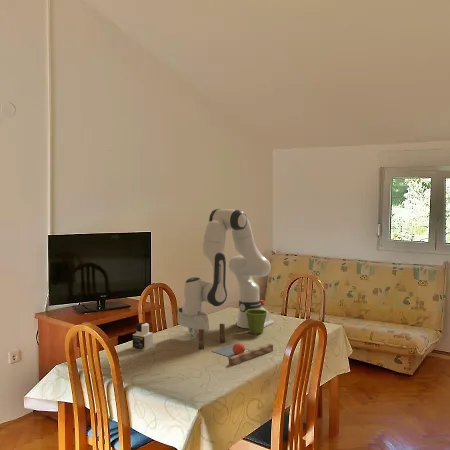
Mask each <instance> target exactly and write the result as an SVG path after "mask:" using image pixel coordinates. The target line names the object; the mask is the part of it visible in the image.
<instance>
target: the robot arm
mask: <svg viewBox="0 0 450 450" xmlns="http://www.w3.org/2000/svg"><path fill="white" fill-rule="evenodd" d="M229 230H230V231H231V236H232V240H233V243H234V249H235V250H236V252H238V253H239V254H240V255H235V256H232V257H231V258H230V260H229V261H228V269H229V271H230V272H231V273H232V274H233V276H234V277H235V279H236V281H237V284H238V288H239V289H238V290H239V292H238V293H239V300H238V307H239V308H238V313H237V320H236V326H237V327H240V328H242V329H243V328H244V329H249V326H248V319H247V315H246V312H245V311H247V310H251V309H260V310H265V311H267V314H266V318H265V323H264V328H266V327H267V326H270V325H272V324H274V323H275V321H274V320H273V319H271V318H270V317H271V316H270V313H269V311H268V310H267V309H265V308H264V307H263V304H265V300H264V299H260V286H259V285H258V283H256V282H255V280H254V279H253V278H254V277H256V278H261V277H267V276H268V275H269V274H270V273H271V269H272V268H271V267H272V266H271V265H272V264H271V263H270V262H271V261H269V259H267V258H266V257H265V256H264V255H263V254H262V253H261V252H260V250H259V249H258V247H257V245H256V241H255V238H254V234H253V229H252V226H251V223H250V220H249V218H248V216H247V215H246V213H245V211H242V210H239V209H232V208H216V209H213V210H212V211H211V212H210V214H209V218H208V223H207V225H206V227H205V232H204V235H203V242H202V252H203V254H204V256H205V258H206V259H207V260H208V261H209V262H210V263H211V265H212V271H213V272H212V283H211V282H208V281H206V280H205V281H204V280H203V279H201V278H200V277H197V276H195V277H189V278H187V279H186V280H185V283H184V288H183V289H184V290H183V297H184V303H183V306H181V307H178V308H177V323H178V326H180V327H181V326H182V327H184V328H187V330H188V333H189V337H190V338H194V339H195V338H197V334H198V333H199V329H203V330H204V333H205V332H208V331H209V330H210V323H209V317H208V315H207V314H206V312H203V307H202V306H203V305H202V304H203V302H206V303H209V304H210V305H212V306H213V307H220V306H222V305H224V303H225V302H226V301H227V299H228V292H227V286H226V271H227V270H226V269H227V263H226V262H227V261H226V256H225V245H226V233H227V231H229Z"/></svg>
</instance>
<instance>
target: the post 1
mask: <svg viewBox="0 0 450 450" xmlns="http://www.w3.org/2000/svg"><path fill="white" fill-rule="evenodd" d="M204 349H205V332H204V330H203V329H199V331H198V350H204Z"/></svg>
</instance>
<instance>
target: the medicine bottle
mask: <svg viewBox="0 0 450 450" xmlns="http://www.w3.org/2000/svg"><path fill="white" fill-rule="evenodd" d="M135 326H136V327H135V331H136V332H135V333H133V334H132V349H133V350H139V351H143V352H145V351H147V350H149V349H151V348H153V347H154V332H150V324H149V323H147V322H138V323H136V325H135Z"/></svg>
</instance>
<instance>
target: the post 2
mask: <svg viewBox="0 0 450 450" xmlns="http://www.w3.org/2000/svg"><path fill="white" fill-rule="evenodd" d="M225 324H226V323H219V343H220V344H224V343H225V342H226V341H225V340H226V339H225V338H226V337H225V336H226V331H225V330H226V326H225Z"/></svg>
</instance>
